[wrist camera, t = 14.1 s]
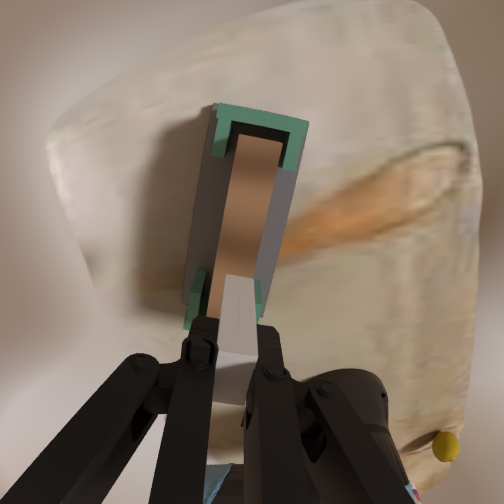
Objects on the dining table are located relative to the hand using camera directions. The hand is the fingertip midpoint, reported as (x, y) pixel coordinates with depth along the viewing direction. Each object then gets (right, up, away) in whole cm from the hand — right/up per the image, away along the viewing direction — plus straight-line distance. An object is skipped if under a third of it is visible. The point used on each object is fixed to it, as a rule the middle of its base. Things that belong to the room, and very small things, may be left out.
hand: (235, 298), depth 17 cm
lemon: (+39, -34, +31) cm, 61 cm away
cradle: (0, +6, +15) cm, 16 cm away
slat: (0, +6, +14) cm, 15 cm away
